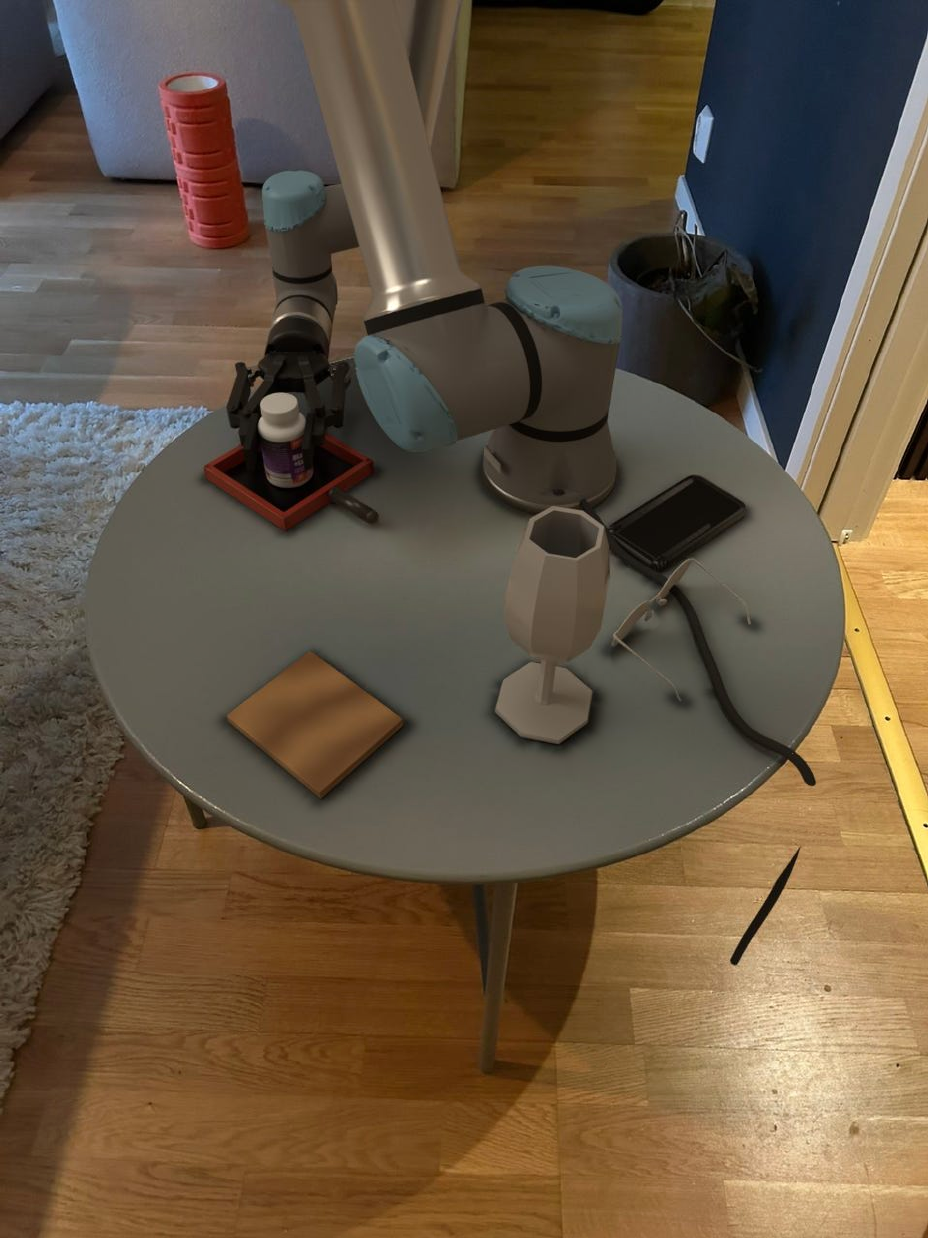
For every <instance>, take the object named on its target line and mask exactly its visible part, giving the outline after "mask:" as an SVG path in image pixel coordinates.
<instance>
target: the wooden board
mask: <svg viewBox="0 0 928 1238" xmlns="http://www.w3.org/2000/svg"><path fill="white" fill-rule="evenodd" d="M226 718H227V722H228V723H229V724H230V725H232V726H233V727H234V728H235V729H236V730H238V732H239V733H241V734H242V735H244V736H245V737H246V738H247V739H249V741H251V743H253V744H254V745H256V747H258V748H259V749H261V751H263V752H264V753H265V754H267V755H268V756H269V757H270V758H271V759H273V760H274V761H275V762H276V763H277V764H278V765H279V766H281V767H282V768H283V769H284V770H285V771H287V773H289V774H290V775H292V776H293V777H294V778H295V779H296V780H298V782H299V783H301V784H302V785H304V787H306V788H307V789H308V790H309V791H310V792H312V793H313V794H314V795H315V796H316V797H317V798H319V799H323V798H324V797H325V796H326V795H327V794H328V793H329V792H331V790H332V789H334V788H335V787H336V786H337V785H338V784H340V782H342V781H343V780H344V779H345V778H346V777H348V775H350V774H351V773H352V772H353V771H354V770H355V769H356V768H357V767H358V766H360V765H361V764H362V763H363V762H364V761H365V760H366V759H368V758H369V757H370V756H371V755H372V754H373V753H374V752H375V751H376V750H378V749H379V748H380V747H381V746H382V745H383V744H384V743H385V742H387V741H388V740H389V739H391V737H392V736H393V735H395V734H396V732H398V731H399V730H400V729H401V728H402V727H403V726H404V719H403V718H402V717H401V716H400V715H398V714H397V713H395V712H394V711H393V710H392V709H390V708H389V707H387V706H386V705H385V704H383V703H382V702H381V701H379V700H378V699H377V698H375V696H372V695H371V694H370V693H368V692H367V691H366V690H365V689H363V688H361V687H360V686H359V685H358V684H356V683H355V682H353V681H352V680H350V679H349V678H348V677H347V676H345V675H344V674H343V673H341V672H340V671H338V670H337V669H336V668H335V667H333V666H332V665H330V664H329V663H328V662H326V661H325V660H323V659H322V658H321V657H319V656H318V655H317V654H315V653H314V652H313V651H312V650H310V651H308V652H307V653H306V654H304V655H303V656H302V657H300V658H299V659H298V660H296V661H295V662H294V663H293V664H291V665H290V666H288V667H287V668H286V669H285V670H284V671H282V672H281V673H279V674H278V675H277V676H276V677H274V678H273V679H272V680H271V681H269V682H268V683H266V684H265V685H264V686H263V687H261V688H260V689H259V690H257V691H256V692H255V693H254V694H252V695H251V696H250V697H248V698H247V699H246V700H244V701H243V702H241V704H239V705H238V706H237V707H235V708H234V709H233V710H231V711H230V712H229V713H227V714H226Z"/></svg>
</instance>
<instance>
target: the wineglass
mask: <svg viewBox="0 0 928 1238" xmlns="http://www.w3.org/2000/svg"><path fill="white" fill-rule="evenodd" d="M528 519H529V520H528V522H527V523H526V525H525V527H524V530H523V532H522V534H521V536H520V539H519V542H518V545H517V548H516V549H517V550H516V553H515V557H514V559H513V563H512V567H511V571H510V575H509V579H508V581H507V586H506V589H505V595H504V609H503V618H504V621H505V625H506V628H507V631H508V634H509V637H510V639H511V641H513V642H514V643H515V644H516V645H517V646H519V648H521V649H522V650H523V651H524V652H525V653H526V654H527V655H528V656H530V657H531V658H532V659H535V660H540V661H541V662H540V663H538V662H535V661H530V662H527V664H525V665H524V666H522V667H521V668H519V669H517V670H515V671H514V672H512V673H511V674H510V675H508V676H506V677H505V678H504V679H503V680H502V681H501V682H502V683H501V685H500V689H499V693H498V696H497V700H496V704H495V708H494V712H495V714H496V715H497V716H498V717H500V719H501V720H502V721H504V723H505V724H506V725H507V726H508V727H510V728H511V729H512V730H513V731H514V733H516V734H517V735H518V736H519V737H520V738H524V739H530V740H533V741H534V740H535V741H541V742H544V743H551V744H556V745H560V744H561V743H562V742H564V741H565V740H566V739H568V738H570V737H571V736H572V735H574V734H575V733H576V732H578V731H579V730H581V729H582V728H584V727H585V726H586V725H587V724H588V723H589V716H590V710H591V705H592V698H593V690H592V689H591V688H590V687H589V686H587V685H586V684H585V683H584V682H583V681H582V680H580V679H579V677H577V676H576V675H575V674H573V672H571V670H569V669H568V668H567V667H561V666H557V664H561V665H562V664H563V665H566V664H568V663H569V662H571V661H572V660H575V659H576V658H577V657H579V656H581V654H583V653H584V652H586V651H588V650H589V649H590V648H591V646H592V645H593V643H594V641H595V639H596V638H597V637H598V635H599V633H600V631H601V629H602V625H603V618H604V613H605V608H606V602H607V596H608V591H609V585H610V581H611V559H610V553H611V552H610V547H609V544H608V540H607V536H606V532H605V528H604V526H603V525H601V524H600V523H599V522H597V521H596V520H595V519H593V518H592V517H591V516H589V515H588V514H587V513H585V512H584V511H582V510H575V509H569V508H562V507H556V506H552V507H550V508H548V509H546V510H544V511H543V512H541V513H539V514H534V515H533V516H531V517H530V518H528Z"/></svg>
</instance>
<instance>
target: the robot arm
mask: <svg viewBox="0 0 928 1238" xmlns="http://www.w3.org/2000/svg"><path fill="white" fill-rule="evenodd" d="M275 1H276V2H278V3H279V4H281V5H282V6H284V7H285V8H287V9H289V10H290V11H292V13H293V14H294V17H295V20H296V24H297V28H298V31H299V35H300V38H301V42H302V46H303V50H304V53H305V56H306V60H307V64H308V67H309V70H310V71H309V72H310V74H311V78H312V82H313V85H314V88H315V92H316V96H317V99H318V103H319V106H320V110H321V113H322V117H323V121H324V124H325V129H326V132H327V135H328V139H329V142H330V147H331V150H332V154H333V156H334V157H333V158H334V160H335V164H336V167H337V171H338V175H339V180H340V182H341V183H337V184H332V185H328V186H325V185H324V181H323V180H322V178H321V177H320V176H319V175H317V173H314V172H310V171H307V170H297V171H293V170H285V171H281V172H278V173H275V174H273V175H271V176H270V177H268V178H267V179H266V181H264V183H263V185H262V189H261V202H262V203H261V204H262V212H263V217H262V218H263V225H264V228H265V233H266V239H267V245H268V250H269V256H270V260H271V269H272V273H271V274H272V280H273V286H274V292H275V305H274V311H273V314H272V319H271V324H270V326H269V331H268V336H267V340H266V343H265V349H264V354H263V358H261V359H260V360H258V363H257V364H256V365H252V366H247V365H246V363H245V362H244V361H243V362H242V361H238V362H236V363H234V368H235V372H236V377H235V379H234V382H233V385H232V388H231V391H230V394H229V398H228V401H227V403H226V409H225V410H226V413H227V418H228V419H227V420H228V422H229V427H230V428H231V429H238V431H237V434H238V438H239V443H240V445H241V446H244V447H243V452H244V457H245V462H246V467H247V470H254V469H255V464H256V459H257V455H258V450H259V445H260V439H259V434H258V422H259V420H260V418H261V417H262V414H261V407H260V403H261V401H262V399H263V398H264V397H266V396H268V395H270V394H274V393H288V394H290V393H297V394H303V395H304V398H305V401H306V402H307V405H308V407H309V411H310V412H307V413H306V416H305V419H306V423H305V429H304V436H303V442H302V448H301V450H302V456H303V463H304V470H312V463H313V456H314V449H315V446H322V445H323V444H324V443H325V436H326V433H327V430H328V428H330V427H333V428H335V429H342V428H343V427H344V424H345V410H346V409H345V407H346V391H347V389H348V388H349V387H350V385H351V384H352V378H351V377H352V376H351V366H350V362H348V361H341V362H339V364H337V366H336V365H331V364H330V362H329V356H330V348H331V342H332V336H333V334H332V333H333V325H334V319H335V312H336V309H337V307H336V306H337V305H338V300H339V298H338V297H339V295H338V294H339V293H338V283H337V279H336V277H335V274H334V273H333V263H332V255H333V254H336V253H340V252H344V251H349V250H353V249H356V248H359V250H360V254H361V258H362V261H363V265H364V269H365V272H366V276H367V280H368V283H369V286H370V290H371V294H372V297H371V301H370V302H369V305H368V307H367V309H366V311H365V313H364V315H363V316H362V321H363V325H364V327H365V330H366V331H365V332H366V336H363V337H362V338H361V340H359V341H358V342H357V343H356V346H355V348H354V351H353V361H354V363H355V375H356V378H357V380H358V385H359V387H360V390H361V392H362V395H363V397H364V400H365V402H366V404H367V406H368V408H369V410H370V412H371V414H372V416H373V418H374V420H376V423H377V424H378V425H379V427H380V428H381V430H382V431H383V432H384V433H385V434H386V436H387V437H388V438H389V439H390V440H391V441H392V442H393V443H394V444H395V445H396V446H398V447H400V448H401V449H403V450H405V451H407V452H412V453H423V452H426V451H429V450H430V451H431V450H433V449H437V448H440V447H452V446H454V445H456V443H457V442H459V441H463V440H465V439H468V438H471V437H474V436H478V435H481V434H485V433H486V432H490V431H491V434H490V436H489V438H488V441H487V444H486V446H483V457H482V459H483V460H482V477H483V480H484V483H485V484H486V487H487V488H488V489H489V492H491V493H492V495H494V496H495V497H496V498H498V500H500V501H502V503H504V504H506V505H508V506H510V507H512V508H515V509H517V510H519V511H523V512H527V513H529V514H534V515H537V514H539V513H541V512H543V511H544V510H546V509H548V508H550V507H552V506H556V507H562V508H569V509H575V510H582V511H584V512H585V513H587V514H588V515H589V516H591V517H592V518H593V519H595V520H596V521H597V522H599V523H600V524H601V525H603V526H604V528H605V532H606V536H607V540H608V544H609V550H611V551H612V552H613V553H614V555H616V557H618V558H619V559H620V560H621V561H623V562H624V563H625V564H627V565H628V566H629V567H631V568H632V569H634V570H635V571H637V572H639V573H641V574H642V575H644V576H646V577H647V578H649V579H651V580H652V581H654V582H656V583H658V584H659V585H660V586H662V588H663V587H664V585H665V583H666V582H667V580H668V579H669V578H667V577H666V576H665V575H663V574H661V572H657V571H655V570H653V569H651V568H650V567H648V566H646V565H644V564H643V563H641V562H639V561H638V560H636V559H635V558H633V557H632V556H630V555H629V554H628V553H627V552H626V551H624V550H623V549H622V548H621V547H620V546H619V545H618V543H617V542H616V541H615V539H614V538H613V536H612V535H611V534H610V532H609V530H608V529H609V528H608V527H607V525H606V524H605V523H604V521H603V520H602V519H601V517H600V516H599V515H598V514H597V512H596V511H595V510H594V508H593V507H595V506H597V505H599V504H600V503H601V502H603V501H604V500H605V499H606V498H607V497H608V496H609V495H610V493H611V492H612V490H613V488H614V486H615V481H616V475H617V468H618V467H617V457H616V453H615V450H614V445H613V441H612V437H611V436H612V435H611V431H610V426H609V412H610V407H611V400H612V392H613V387H614V380H615V374H616V369H617V362H618V356H619V350H620V344H621V342H622V340H623V332H622V324H623V314H624V313H623V312H624V309H623V303H622V302H623V301H622V299H621V297H620V296H619V294H618V292H617V291H616V290H615V289H614V288H613V287H612V286H611V285H610V284H608V283H607V282H606V281H604V280H603V279H601V278H599V277H598V276H595V275H592V274H590V273H587V272H584V271H582V270H578V269H574V268H571V267H570V268H569V267H564V266H557V265H536V266H535V265H534V266H529V267H525V268H522V269H519V270H517V271H516V272H515V273H513V274H511V277H510V278H509V279H508V281H507V285H506V286H505V288H504V293H505V298H504V300H500V301H498V302H493V303H490V304H486V301H485V297H484V292H483V288H482V285H481V284H480V283H478V282H477V281H475V280H474V279H471V277H468V275H465V274H464V273H463V271H462V270H461V267H460V263H459V258H458V254H457V251H456V250H457V249H456V246H455V242H454V238H453V235H452V230H451V227H450V223H449V222H450V221H449V219H448V213H447V211H446V206H445V202H444V198H443V195H442V190H441V185H440V182H439V178H438V175H437V174H438V173H437V169H436V166H435V162H434V157H433V153H432V150H433V146H434V141H435V136H436V132H437V126H438V122H439V117H440V112H441V107H442V101H443V97H444V93H445V87H446V83H447V78H448V73H449V68H450V63H451V58H452V53H453V49H454V43H455V39H456V34H457V29H458V25H459V20H460V15H461V11H462V5H463V0H275ZM258 378H260V379H262V380H263V381H262V382H261V383H260V385H259V386H258V388H257V389H256V390H255V392H254V393H253V394H252V388H254V387H255V382H256V381H257V379H258ZM329 378H330V382H331V383H332V386H331V387H332V388H331V403H330V408H329V409H326V405H325V403H323V400H322V397H321V393H320V391H319V388H318V386H319V385H320V384H321V383H323V382H324V381H326V380H328V379H329ZM251 394H252V396H251ZM669 592H670V593H669V594H671V595H672V596H673V597H674V598H675V600H676V601H677V603H678V604H679V605H680V606H681V608H682V610H683V612H684V613H685V616H686V617H687V620H688V623H689V625H690V628H691V632H692V634H693V638H694V639H695V640H694V641H695V643H696V646H697V649H698V652H699V653H700V656H701V658H702V660H703V662H704V665H705V668H706V670H707V673H708V675H709V678H710V682H711V684H712V687H713V690H714V693H715V695H716V698H717V700H718V703H719V705H720V706H721V709H722V710H723V711H724V712H723V713H725V715H726V716H727V718H728V719H729V721H730V722H731V723H732V725H733V726H734V727H735V728H736V729H737V730H738V731H739V733H741V734H742V735H743V736H745V737H746V738H747V739H749V740H750V741H752V742H754V743H755V744H757V745H759V746H761V747H762V748H764V749H767V750H769V751H771V752H773V753H775V754H778V755H780V756H781V757H783V758H785V759H786V760H788V761H789V762H790V763H791V764H793V766H794V767H795V768H796V769H797V771H798V772H799V774H800V776H801V777H802V780H803V781H804V783H805V784H806V785H807V786H809V787H815V786H816V784H817V781H816V778H815V774H814V772H813V771H812V769H811V766H810V765H809V764H808V763H807V761H806V760H805V759H804V757H802V756H801V755H800V754H799V753H798V752H796V750H794V749H792V748H790V747H789V746H787V745H786V744H783V743H781V742H779V741H777V740H774V739H772V738H771V737H768V736H766V735H764V734H762V733H760V732H758V731H757V730H755V729H754V728H752V727H751V726H750V725H749V724H748V723H747V722H746V721H745V720H744V718H743V717H742V716H741V715H740V713H739V712H738V710H736V708H735V706H734V704H733V703H732V701H731V699H730V697H729V694H728V693H727V689H726V687H725V684H724V681H723V679H722V676H721V673H720V670H719V668H718V665H717V662H716V660H715V658H714V656H713V653H712V651H711V649H710V646H709V644H708V641H707V638H706V636H705V632H704V631H703V626H702V624H701V621H700V619H699V616H698V614H697V612H696V610H695V608H694V606H693V604H692V603H691V601H690V599H688V597H687V595H685V592H683V591H682V590H681V589H680V588H679V587H678V586H677V585H673V586H672V587H671V589H670V590H669ZM792 753H793V754H792ZM798 847H799V848H798V849H797V850H796V851H795V853H794V855H793V856H792V858H791V859H790V860H789V862H788V863H787V865H786V866H785V867H784V869H783V870H782V872H781V873H780V875H779V876H778V878H777V879H776V880H775V882H774V884H773V886H772V888H771V890H770V891H769V893H768V895H767V897H766V899H765V900H764V902H763V903H762V905H761V907H760V908H759V910H758V911H757V913H756V915H755V916H754V917H753V919H752V921H751V922H750V924H749V925H748V927H747V928H746V930H745V931H744V934H742V936H741V938H740V940H739V942H738V943H737V946H736V947H735V949H734V951H733V953H732V955H731V957H730V959H729V962H730V964H731V965H732V966H737V965H739V962H740V961H741V960H742V957H743V955H744V953H745V952H746V951H747V948H748V946H749V945H750V944H751V942H752V940H753V939H754V937H755V936H756V934H757V933H758V931H759V930H760V928H761V927H762V926H763V924H764V923H765V920H766V919H767V918H768V916H769V914H770V913H771V912H772V910H773V909H774V907H775V905H776V903H777V902H778V900H779V898H780V896H781V895H782V893H783V891H784V890H785V887H786V885H787V883H788V881H789V879H790V877H791V874H792V872H793V869H794V867H795V864H796V862H797V859H798V857H799V854H800V851H801V848H802V845H799V846H798Z"/></svg>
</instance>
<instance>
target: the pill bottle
mask: <svg viewBox="0 0 928 1238" xmlns="http://www.w3.org/2000/svg"><path fill="white" fill-rule="evenodd" d="M260 407H261V414H262V417H261V418H260V420H259V422H258V434H259V439H260V444H261V450H262V455H263V461H264V466H265V472H266V476H267V479H268V480H269V482H270V483H272V484H273V485H275V486H277V487H282V488H293V487H298V486H301V485H303V484H305V483H306V482H308V481H309V480H310V479H311V477H312V475H313V464H312V470H304V463H303V456H302V450H301V448H302V442H303V436H304V429H305V423H306V416H305V415H304V414H302V413H301V412H300V408H299V402H298V399H297V397H296V396H294V395H293V394H291V393H274V394H270V395H268V396H266V397H264V398H263V399H262V401H261V403H260Z"/></svg>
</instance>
